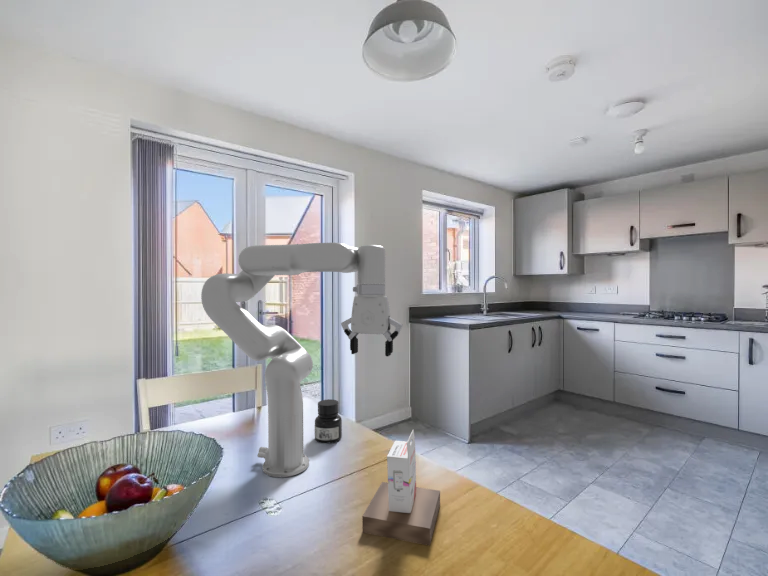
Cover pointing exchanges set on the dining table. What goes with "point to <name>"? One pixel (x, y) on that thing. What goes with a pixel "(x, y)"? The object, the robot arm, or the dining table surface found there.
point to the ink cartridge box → (402, 475)
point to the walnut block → (403, 516)
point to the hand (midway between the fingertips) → (371, 354)
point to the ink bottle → (328, 422)
